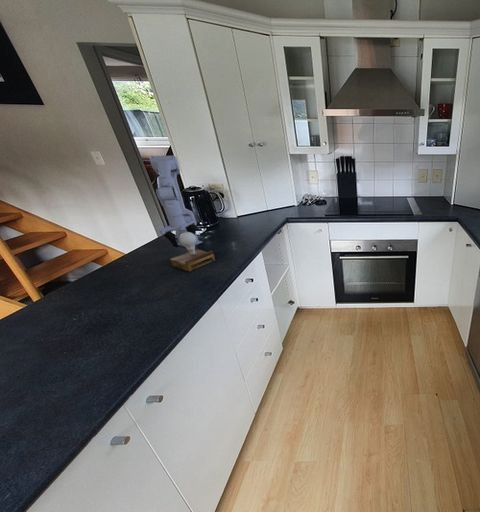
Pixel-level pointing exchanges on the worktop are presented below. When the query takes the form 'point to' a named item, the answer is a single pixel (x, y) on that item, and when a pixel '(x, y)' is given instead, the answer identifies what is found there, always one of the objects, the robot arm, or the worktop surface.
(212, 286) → the worktop surface
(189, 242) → the lightbulb
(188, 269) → the wooden pallet
